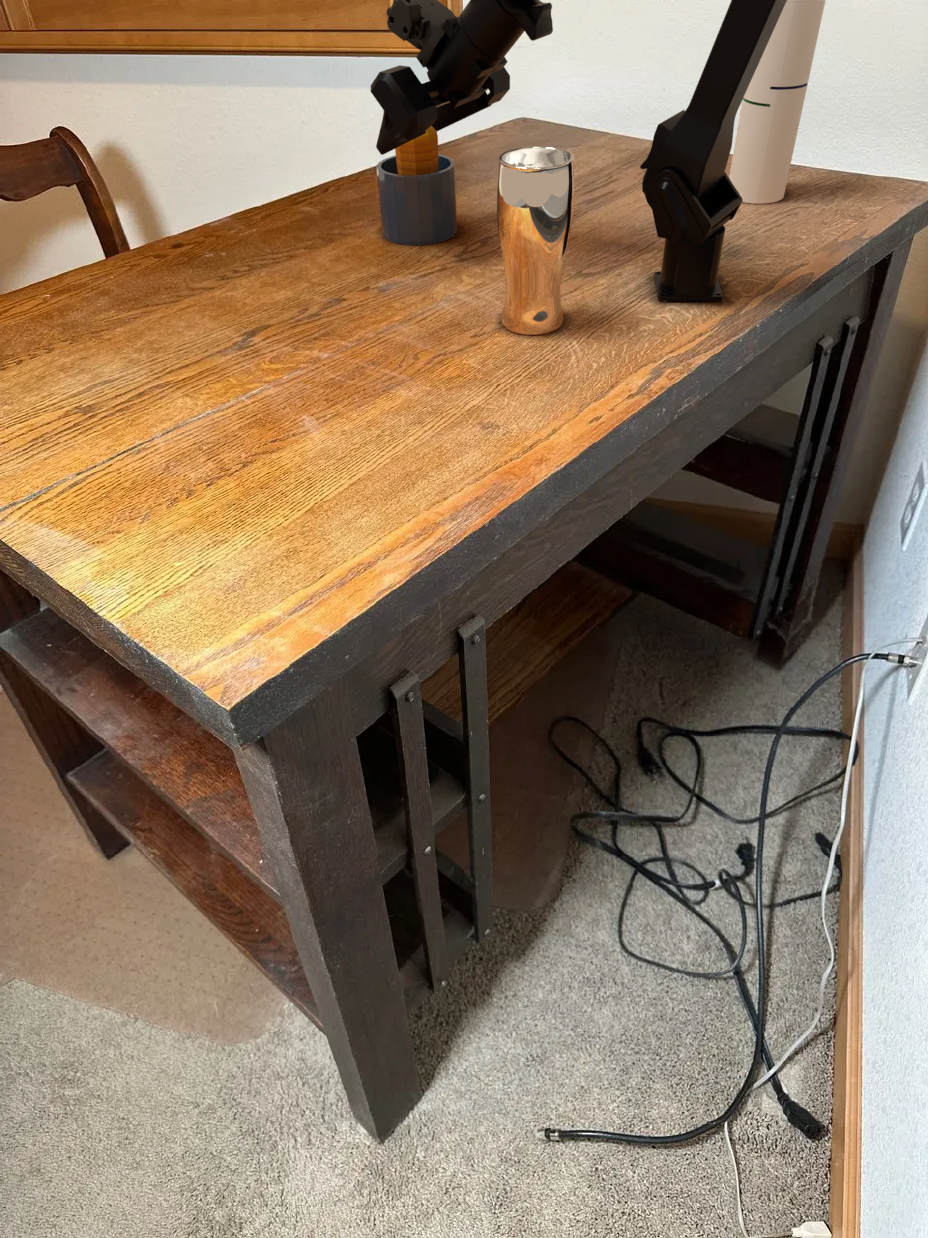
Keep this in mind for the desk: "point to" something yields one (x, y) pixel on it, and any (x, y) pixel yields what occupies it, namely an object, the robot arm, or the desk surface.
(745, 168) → the cylindrical container
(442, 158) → the cup
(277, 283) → the desk surface
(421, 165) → the carrot
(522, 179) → the beer glass
